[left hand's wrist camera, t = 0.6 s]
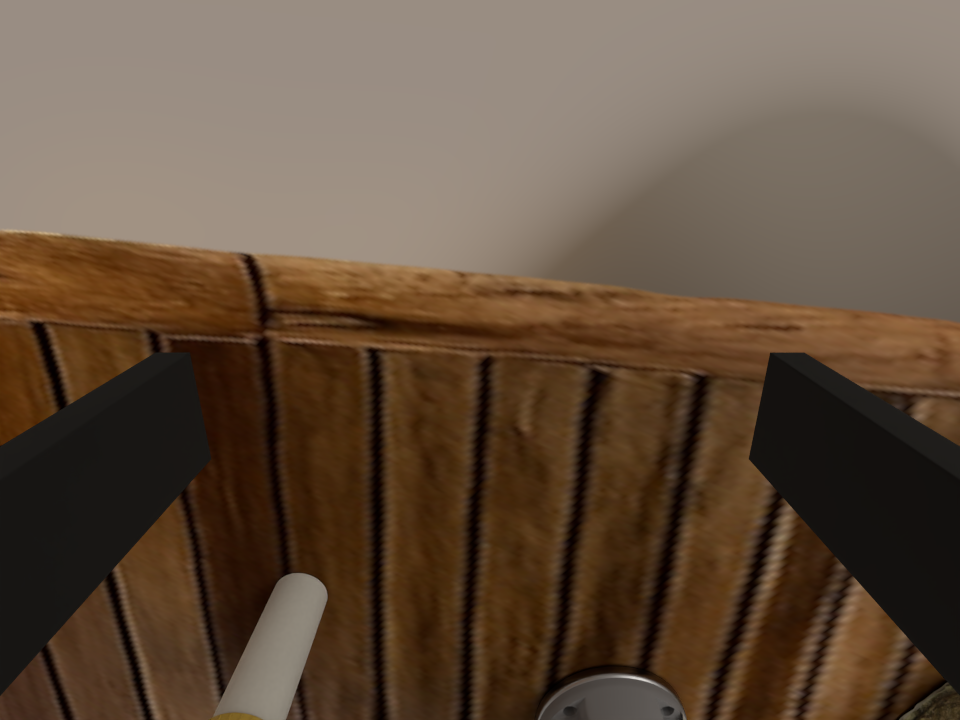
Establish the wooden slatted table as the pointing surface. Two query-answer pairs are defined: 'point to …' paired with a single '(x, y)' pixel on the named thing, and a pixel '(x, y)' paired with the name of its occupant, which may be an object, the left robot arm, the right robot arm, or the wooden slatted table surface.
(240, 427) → the wooden slatted table surface
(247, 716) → the lid
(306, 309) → the wooden slatted table surface
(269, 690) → the bottle
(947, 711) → the fossil
